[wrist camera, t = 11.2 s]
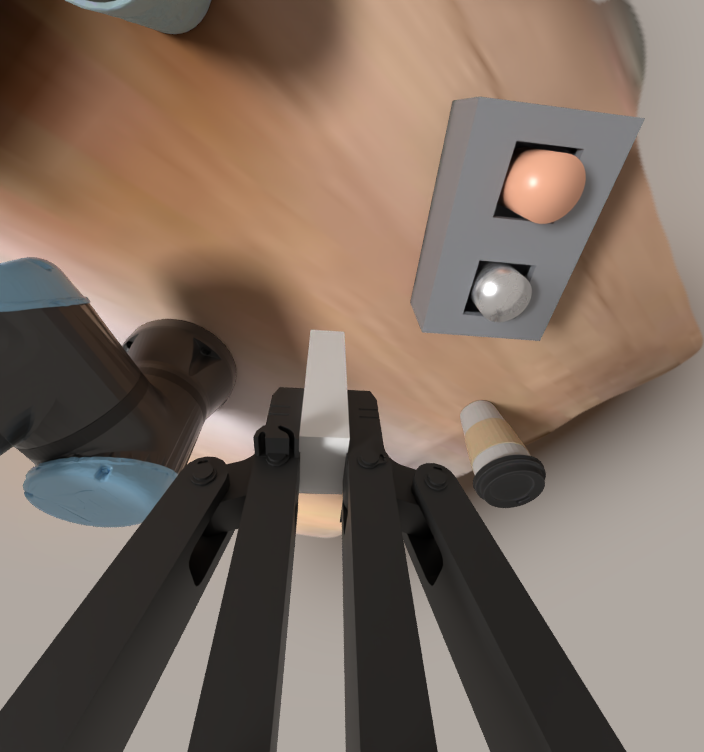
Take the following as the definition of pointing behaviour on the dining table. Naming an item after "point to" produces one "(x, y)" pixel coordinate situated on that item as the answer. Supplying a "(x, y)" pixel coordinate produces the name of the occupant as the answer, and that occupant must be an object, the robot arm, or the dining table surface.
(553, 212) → the brown egg
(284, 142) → the dining table surface
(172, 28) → the drinking glass
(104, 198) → the dining table surface
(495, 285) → the silver rounded piece
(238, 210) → the dining table surface
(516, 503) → the coffee cup
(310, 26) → the dining table surface
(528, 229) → the block with square holes
